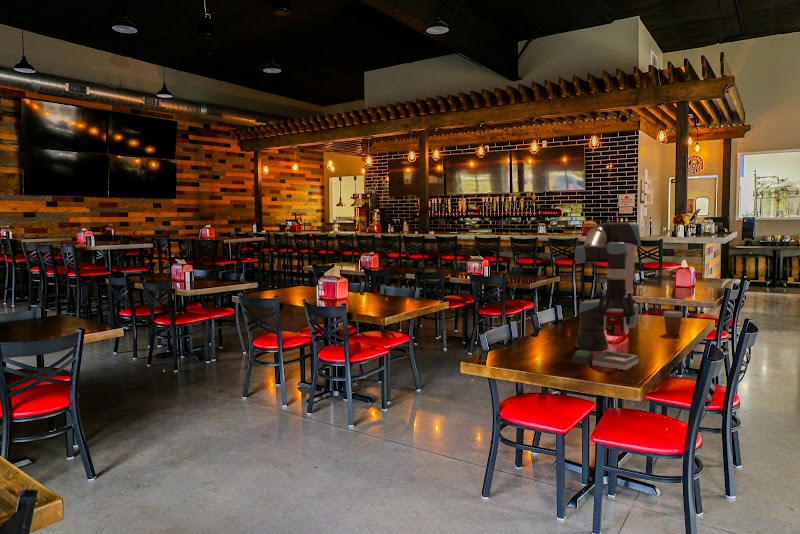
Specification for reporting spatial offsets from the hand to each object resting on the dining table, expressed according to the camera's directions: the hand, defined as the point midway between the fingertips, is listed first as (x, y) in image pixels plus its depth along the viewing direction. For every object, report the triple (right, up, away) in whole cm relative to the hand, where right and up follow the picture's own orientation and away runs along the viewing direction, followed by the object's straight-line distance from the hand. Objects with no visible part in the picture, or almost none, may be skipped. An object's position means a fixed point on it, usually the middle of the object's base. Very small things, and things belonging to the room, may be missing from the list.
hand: (615, 330), depth 248 cm
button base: (-12, -15, +5) cm, 20 cm away
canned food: (0, -2, 0) cm, 2 cm away
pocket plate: (0, -15, +1) cm, 15 cm away
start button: (-13, -13, +5) cm, 18 cm away
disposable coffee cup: (+54, -9, +62) cm, 82 cm away
